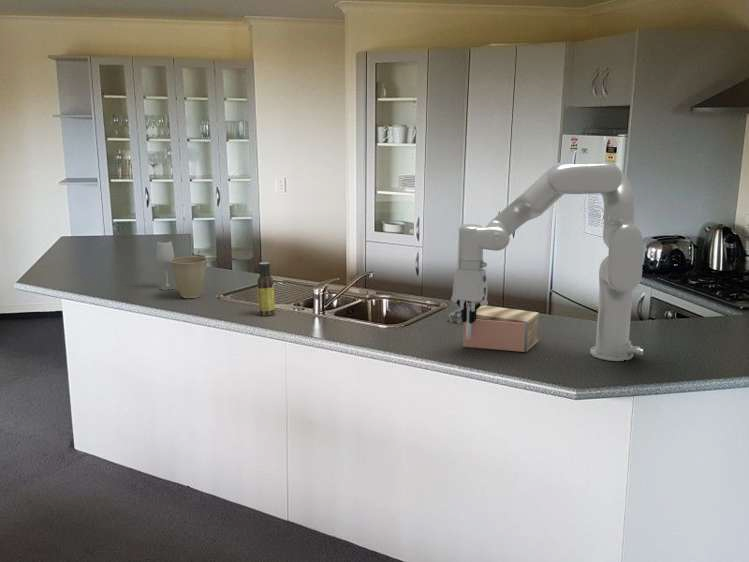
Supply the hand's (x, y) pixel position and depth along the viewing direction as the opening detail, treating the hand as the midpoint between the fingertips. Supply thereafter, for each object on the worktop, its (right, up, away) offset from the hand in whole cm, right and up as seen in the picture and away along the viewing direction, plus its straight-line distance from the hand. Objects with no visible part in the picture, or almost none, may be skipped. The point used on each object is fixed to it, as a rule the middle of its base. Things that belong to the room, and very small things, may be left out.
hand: (468, 321), depth 220 cm
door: (+8, -9, +1) cm, 12 cm away
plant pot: (-106, +6, +73) cm, 129 cm away
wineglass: (-121, +9, +88) cm, 150 cm away
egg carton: (+3, -2, +36) cm, 37 cm away
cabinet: (+12, -7, +10) cm, 18 cm away
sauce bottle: (-70, 0, +46) cm, 84 cm away
